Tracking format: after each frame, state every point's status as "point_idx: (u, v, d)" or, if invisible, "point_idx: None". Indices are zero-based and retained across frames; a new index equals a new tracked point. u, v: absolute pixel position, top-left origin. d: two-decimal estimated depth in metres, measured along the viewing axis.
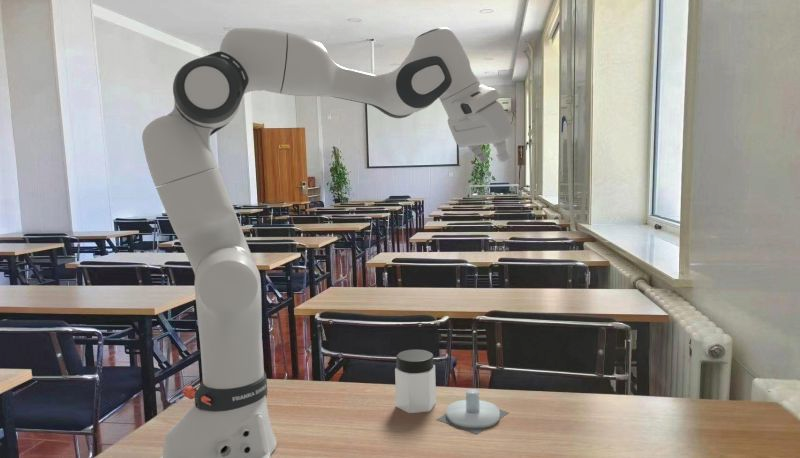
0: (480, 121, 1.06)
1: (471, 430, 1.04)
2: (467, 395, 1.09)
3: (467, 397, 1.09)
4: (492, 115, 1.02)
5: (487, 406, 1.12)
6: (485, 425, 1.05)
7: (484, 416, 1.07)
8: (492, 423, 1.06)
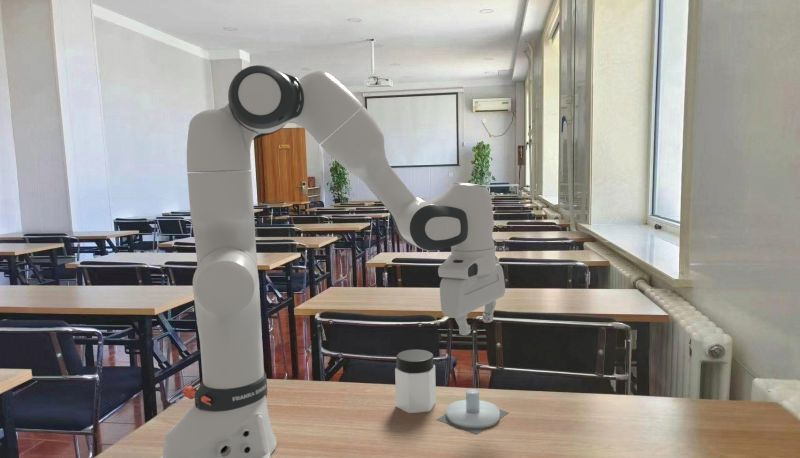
0: None
1: (471, 430, 1.04)
2: (467, 395, 1.09)
3: (467, 397, 1.09)
4: (446, 289, 1.01)
5: (487, 406, 1.12)
6: (485, 425, 1.05)
7: (484, 416, 1.07)
8: (492, 423, 1.06)
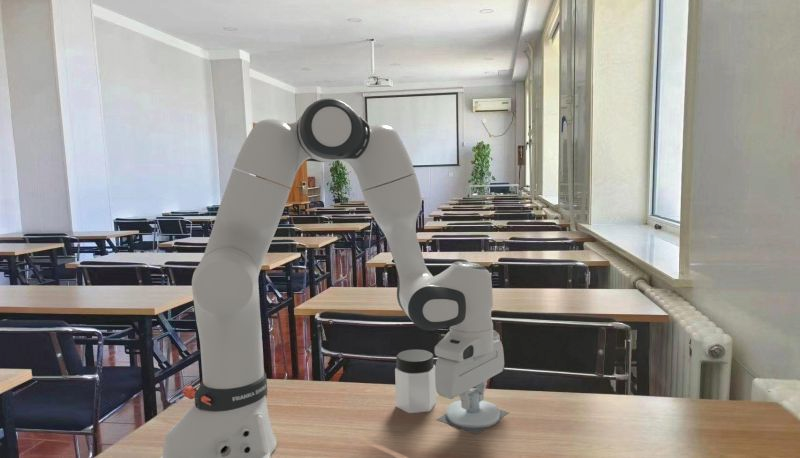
0: None
1: (471, 430, 1.04)
2: None
3: None
4: (441, 370, 1.02)
5: (487, 406, 1.12)
6: (485, 425, 1.05)
7: (484, 416, 1.07)
8: (492, 423, 1.06)
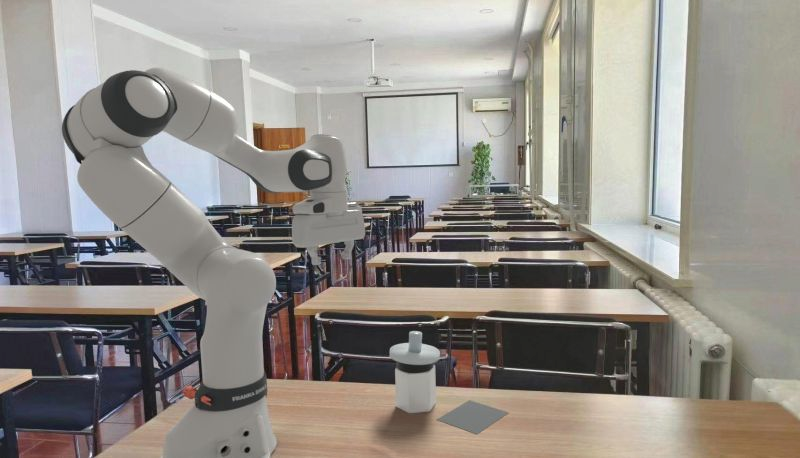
0: None
1: (471, 430, 1.04)
2: (410, 335, 1.14)
3: (410, 337, 1.15)
4: (295, 223, 1.19)
5: (429, 348, 1.17)
6: (423, 362, 1.10)
7: (424, 355, 1.13)
8: (431, 361, 1.11)
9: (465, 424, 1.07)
